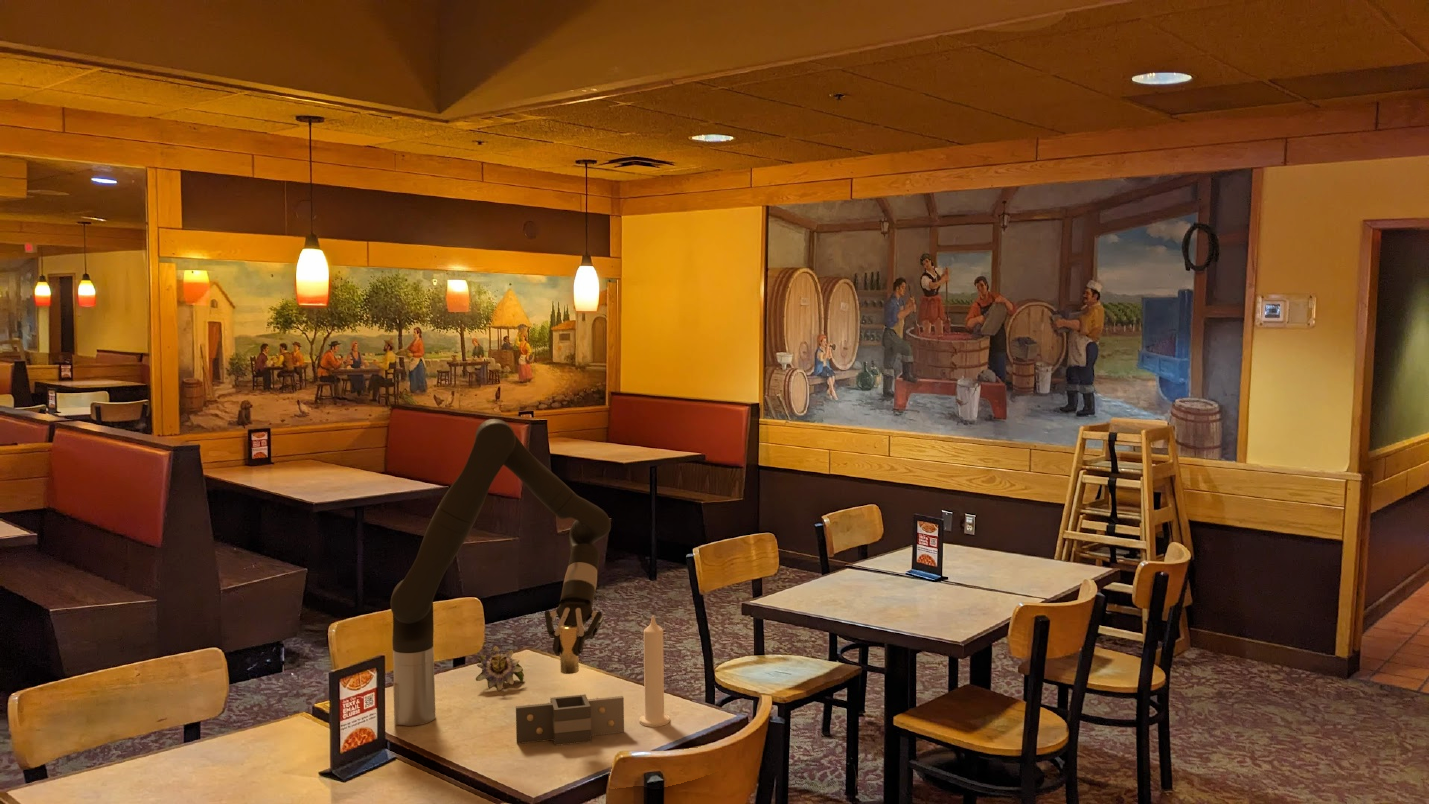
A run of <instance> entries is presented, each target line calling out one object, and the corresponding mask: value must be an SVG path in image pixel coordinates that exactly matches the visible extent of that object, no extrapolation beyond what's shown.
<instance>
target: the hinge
mask: <svg viewBox="0 0 1429 804" xmlns="http://www.w3.org/2000/svg"><path fill="white" fill-rule="evenodd" d="M549 701H550V702H548V703H538V704H526V705H518V706H517V705H516V706H515V725H516V727H515V730H516V731H515V732H516V734H515V735H516V736H515V737H516V738H515V739H516V744H525V743H535V742H542V741H543V740H546V741H553V743H554V746H559V745H560V746H561V744H563V745H570V743H573V744H580V743H591V742H592V736H600V735H611V734H618V733H620V732H621V733H624V732H625V709H624V708H625V707H624V705H625V702H624V696H623V695H620V696H609V697H598V698H588V697H587V695H586V694H585V693H584V694H576V695H567V696H557V697H555V696H554V697H550V700H549ZM543 742H544V741H543Z"/></svg>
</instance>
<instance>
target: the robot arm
mask: <svg viewBox="0 0 1429 804" xmlns="http://www.w3.org/2000/svg"><path fill="white" fill-rule="evenodd" d="M476 429H477V430H476V431H475V437H474V443H473V446H472V448H471V451H470V454H469V456H468V459H467V461H466V463H465V465H464V467H463V469H462V471H461V472H460V474H459V475H458V477H457V478H456V480H455V481H454V482H453V483H452V484H451V486H450V487H449V488H448V490H447V491H446V493H445V494H444V496H443V497H442V499H441V500H440V502H439V504H438V506H437V508H436V509H435V511H434V514H433V516H432V518H431V519H430V522H429V523H428V525H427V528H426V530H425V533H424V536H423V537H422V538H423V539H422V541H421V544H420V547H419V549H418V552H417V555H416V558H415V559H414V562H413V564H412V565H411V568H409V570H408V572H407V574H406V575H405V577H404V579H402V580H400V581H399V582H398V583H397V585H396V586H395V587H394V589H393V591H392V594H391V597H390V604H389V605H390V610H391V613H392V665H393V671H392V672H393V685H392V687H393V690H392V691H393V715H394V717H393V718H394V720H393V721H394V726H407V727H408V726H409V727H410V726H411V727H412V726H420V725H425V724H428V723H431V722H432V721H434V720H435V719H436V689H435V686H436V685H435V682H436V681H435V659H434V657H435V655H434V654H435V653H434V632H435V631H434V625H435V624H434V599H435V596H436V594H437V591H438V589H439V586H440V584H441V581H442V579H443V577H444V576H445V573H446V571H447V570H448V569H449V567H450V566H451V564H452V562H453V561H454V559H455V557H456V556H457V554H458V553H459V552H460V550H461V548H462V547H463V544H464V543H465V541H466V539H467V538H468V536H469V535H470V532H471V530H472V528H473V526H474V525H475V523H476V520H477V518H478V517H479V515H480V512H481V510H482V508H483V505H484V503H485V500H486V498H487V495H488V494H489V491H490V488H491V485H492V483H493V482H494V480H495V478H496V476H497V475H498V474H499V472H500V471H501V469H502V467H503V466H504V467H505V468H507V469H508V470H510V471H511V472H512V474H514V475H515V476H516V477H517V478H518V480H520V481H521V482H522V483H523V485H525V487H526V488H528V490H529V491H530V492H531V493H532V495H534V496H535V497H536V498H537V499H538V500H539V501H540V503H542V504H543V505H544V506H545V507H546V508H547V509H548V510H549V511H550V512H552V514H554V516H556V517H557V518H558V519H561V520H566V519H569V518H570V519H574V522H573V523H572V525H571V527H570V529H569V534H568V535H569V536H568V538H569V550H570V555H569V560H568V564H567V565H568V566H567V569H566V572H565V576H564V580H563V584H562V585H563V586H562V588H561V589H562V590H561V595H560V599H559V605H558V607H556V610H553V611H550V610H545V611H544V620H545V624H546V625H545V626H546V631H547V634H548V636H549V638H550V639H553V644H552V651H553V653H554V654H555V656H560V627H561V626H563V625H576V626H578V637H577V640H576V646H575V655H576V656H578V657H580V654H583V652H584V648H585V647H584V646H585V642H586V641H588V640H593V639H594V638H595V636H596V635H597V633H598V631H599V628H600V627H601V625H602V623H603V622H604V616H603V613H602V612H601V611H598V612H597V611H594V610H593V605H594V600H595V594H596V589H597V587H598V586H597V583H598V571H599V564H600V558H601V553H600V550H599V548H597V547H596V546H595V545H594V544H595V543H596V542H598V541H599V540H601V539H602V538H604V537H605V536H607V534H609V533H610V532H611V528H612V523H611V519H610V517H609V516H608V514H607V512H605V510H604V509H602V508H600V507H599V506H598V505H596V504H594V503H593V502H591V501H589V500H587V499H586V498H583V497H581V496H579V495H578V494H577V493H576V492H574V491H573V490H572V489H571V488H570V486H568V485H567V484H566V483H565V482H564V481H562V479H560V478H559V476H557V475H556V474H555V473H553V471H551V470H550V469H549V468H547V467H546V465H544V464H543V463H542V462H541V461H539V460H538V459H537V458H536V457H535V456H534V455H533V453H531V452H530V450H528V448H526V447H525V445H524V443H522V442H521V441H520V439H519V438H518V436H517V435H516V434H515V432H514V430H513V428H512V426H511V425H510V424H509V423H508V422H506V421H504V420H503V419H498V418H491V419H486V420H485V421H483V422H482V423H480V425H479V426H478V427H477V428H476ZM556 617H558V619H559V622H558V624H557V627H556V629H555V628H554V622H555V621H556ZM591 618H592V621H591V623H590V625H589V627H588V629H587V630H586V625H585V624H587V622H588V621H589V620H590V619H591Z"/></svg>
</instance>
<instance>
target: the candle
mask: <svg viewBox="0 0 1429 804" xmlns="http://www.w3.org/2000/svg"><path fill="white" fill-rule="evenodd" d="M650 619H651V621H650V622H649V623H650V624H649V625H648V626H647V627H645V628H643V671H644V672H643V675H644V677H643V679H644V681H643V683H644V686H643V687H644V690H643V691H644V714H642V715H641V716H640V717H639V718H638V719H639V724H641V725H642V726H644V725H645V727H653V728H657V727H662V726H666V725H668V724H669V723H670V721H671V720H670V719H671V717H670V716H669V715H668V714H665V679H664V678H665V677H664V673H665V671H664V662H665V661H664V630H663V628H662V627H661V626H659V625H658V624H657V622H656V618H655V615H651V618H650Z"/></svg>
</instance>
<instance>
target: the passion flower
mask: <svg viewBox="0 0 1429 804" xmlns="http://www.w3.org/2000/svg"><path fill="white" fill-rule="evenodd" d="M513 655H514V651H513V650H508V651H507V652H505V653H504V652H502V651H501V649H500V648H499V647H498V646H496V645H495V646H494V647H493V649H492V651H491V652H489V653H488V654H486V655H483V654H481V655H480V657H476V660H477V662H478V664H476V666H477V667H478V668H480V669H481V672H480V673H479V674H477V676H476V677H475V681H477V682H480V681H483V680H486V681H487V687H488V689H489V690H490V689H492V688H494V687H495V688H496V691H498V692H500V691H502V689H503V685H504V683H507V684H509V685H511V686H513V684H514V676H516V677H517V679H518V680H519V681H520V683H523V681H524V678H525V675H524V669H523V667H522V666H521V665H520V664H519V663H520V659H517V658H515V659H514V658H513V657H512V656H513Z"/></svg>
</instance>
